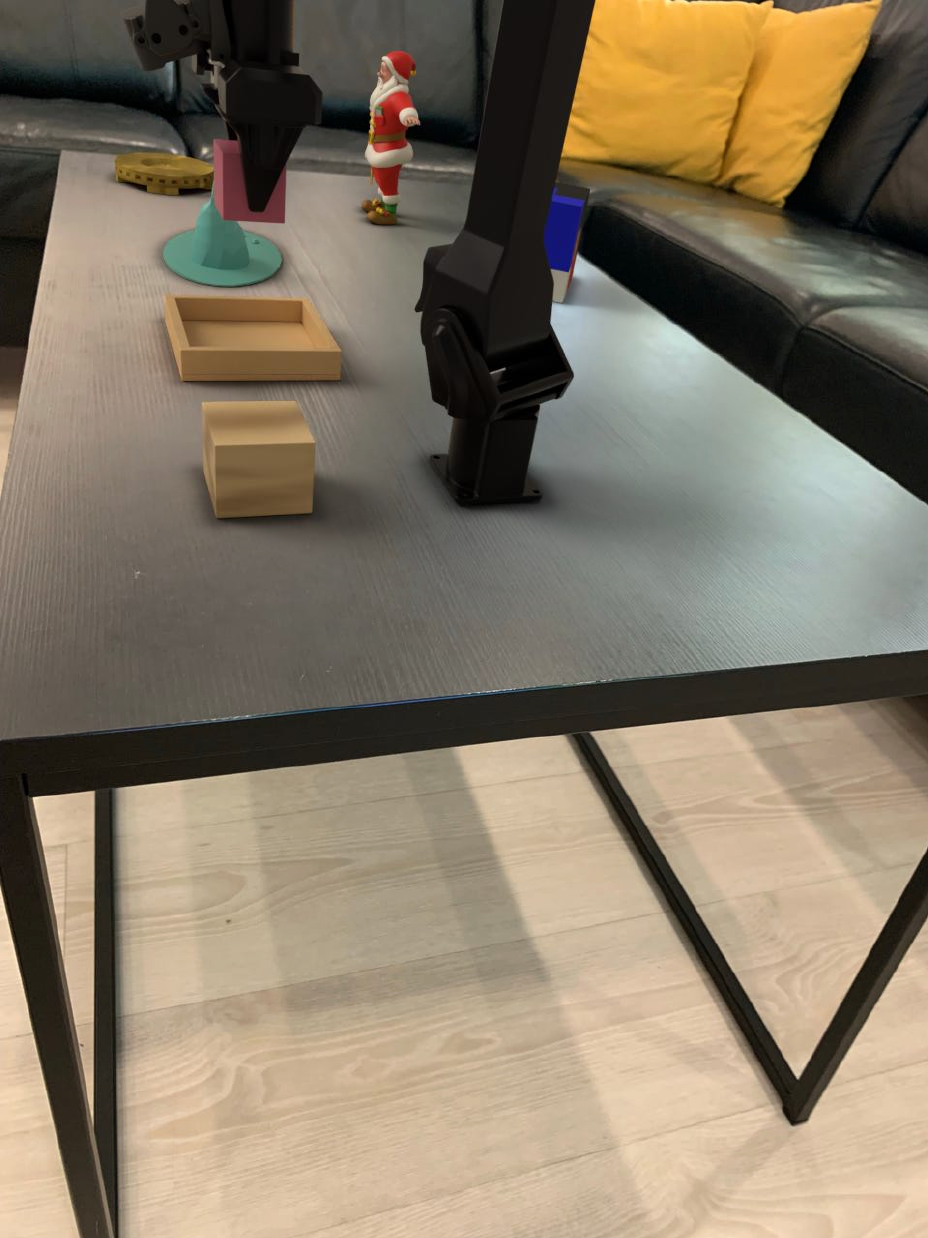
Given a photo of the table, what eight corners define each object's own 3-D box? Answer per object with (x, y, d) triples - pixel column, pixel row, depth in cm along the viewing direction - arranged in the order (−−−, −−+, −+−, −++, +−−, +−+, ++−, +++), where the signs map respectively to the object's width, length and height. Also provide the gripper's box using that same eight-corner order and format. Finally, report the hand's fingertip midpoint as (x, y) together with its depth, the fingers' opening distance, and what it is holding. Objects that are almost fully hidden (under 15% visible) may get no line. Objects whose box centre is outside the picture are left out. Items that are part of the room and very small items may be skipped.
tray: (339, 380, 77) (341, 351, 76) (181, 381, 73) (180, 349, 71) (307, 324, 86) (308, 297, 85) (165, 322, 82) (164, 293, 80)
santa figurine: (350, 191, 130) (360, 34, 119) (391, 195, 131) (405, 40, 120) (374, 244, 111) (389, 62, 100) (422, 248, 112) (442, 70, 101)
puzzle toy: (562, 303, 102) (581, 206, 97) (473, 284, 103) (487, 188, 97) (572, 278, 111) (590, 188, 105) (489, 262, 111) (503, 171, 105)
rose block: (285, 223, 71) (286, 157, 68) (223, 220, 69) (222, 152, 67) (273, 207, 74) (274, 143, 72) (214, 203, 73) (213, 138, 70)
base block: (312, 513, 60) (316, 442, 57) (216, 518, 58) (214, 445, 55) (293, 468, 64) (296, 400, 61) (203, 471, 62) (201, 401, 59)
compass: (233, 188, 122) (233, 170, 121) (163, 199, 113) (163, 180, 112) (167, 166, 126) (166, 149, 125) (95, 175, 118) (93, 156, 116)
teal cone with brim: (284, 235, 108) (286, 154, 103) (279, 292, 92) (281, 200, 87) (175, 224, 106) (171, 140, 101) (151, 279, 90) (145, 184, 85)
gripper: (114, -74, 66) (129, 164, 75) (135, -56, 53) (151, 233, 62) (272, -50, 70) (268, 174, 79) (330, -27, 56) (317, 241, 66)
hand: (250, 202), depth 71 cm, fingers closed on rose block, 4 cm apart
